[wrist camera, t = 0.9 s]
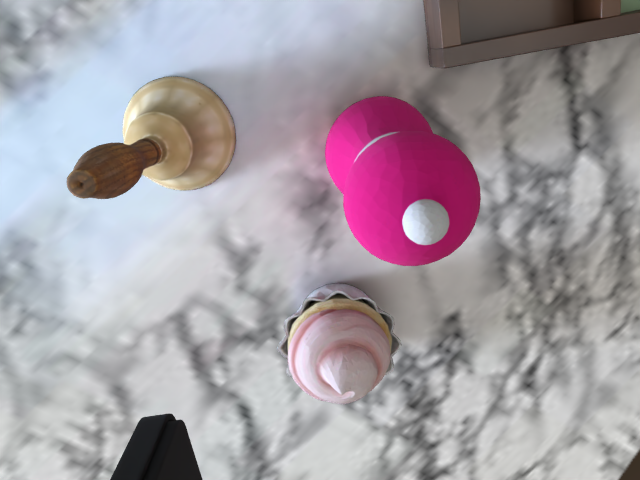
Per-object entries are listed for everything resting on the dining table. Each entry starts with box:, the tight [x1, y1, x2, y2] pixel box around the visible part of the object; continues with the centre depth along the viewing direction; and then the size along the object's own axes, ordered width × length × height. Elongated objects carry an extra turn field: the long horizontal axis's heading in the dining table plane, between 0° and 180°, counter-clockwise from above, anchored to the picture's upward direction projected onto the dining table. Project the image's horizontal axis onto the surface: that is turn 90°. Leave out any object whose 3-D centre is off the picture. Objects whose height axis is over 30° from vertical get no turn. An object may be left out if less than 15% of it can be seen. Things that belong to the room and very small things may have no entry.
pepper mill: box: [325, 96, 480, 266], centre depth 28 cm, size 7×7×20 cm
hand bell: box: [67, 77, 236, 199], centre depth 29 cm, size 8×8×16 cm
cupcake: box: [277, 284, 402, 404], centre depth 37 cm, size 9×9×10 cm
